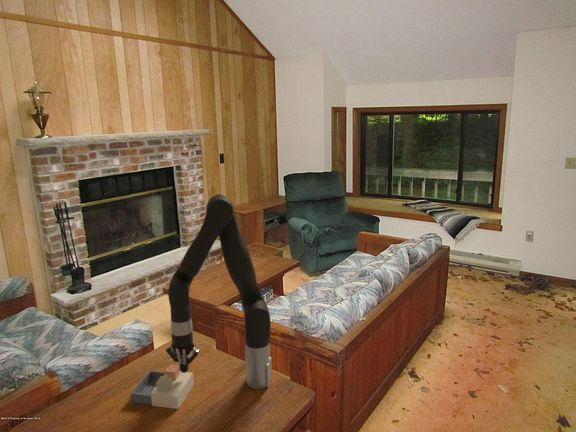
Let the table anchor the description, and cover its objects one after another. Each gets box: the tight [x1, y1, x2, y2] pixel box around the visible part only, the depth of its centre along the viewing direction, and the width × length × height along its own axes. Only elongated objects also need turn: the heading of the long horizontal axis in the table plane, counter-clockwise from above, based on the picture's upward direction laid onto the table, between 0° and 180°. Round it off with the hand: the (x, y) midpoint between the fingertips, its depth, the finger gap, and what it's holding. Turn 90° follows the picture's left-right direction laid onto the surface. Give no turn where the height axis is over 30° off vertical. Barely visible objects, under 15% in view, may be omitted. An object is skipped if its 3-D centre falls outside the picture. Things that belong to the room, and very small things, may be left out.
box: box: [130, 369, 165, 406], centre depth 157 cm, size 8×14×4 cm, turn 169°
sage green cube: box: [156, 376, 172, 393], centre depth 151 cm, size 4×4×4 cm
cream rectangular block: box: [151, 371, 195, 410], centre depth 155 cm, size 10×14×5 cm
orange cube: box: [164, 364, 180, 380], centre depth 158 cm, size 4×4×4 cm
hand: (184, 371), depth 156 cm, fingers closed
